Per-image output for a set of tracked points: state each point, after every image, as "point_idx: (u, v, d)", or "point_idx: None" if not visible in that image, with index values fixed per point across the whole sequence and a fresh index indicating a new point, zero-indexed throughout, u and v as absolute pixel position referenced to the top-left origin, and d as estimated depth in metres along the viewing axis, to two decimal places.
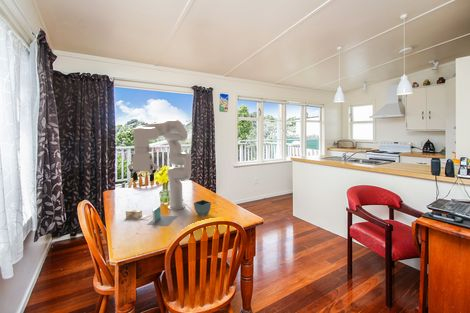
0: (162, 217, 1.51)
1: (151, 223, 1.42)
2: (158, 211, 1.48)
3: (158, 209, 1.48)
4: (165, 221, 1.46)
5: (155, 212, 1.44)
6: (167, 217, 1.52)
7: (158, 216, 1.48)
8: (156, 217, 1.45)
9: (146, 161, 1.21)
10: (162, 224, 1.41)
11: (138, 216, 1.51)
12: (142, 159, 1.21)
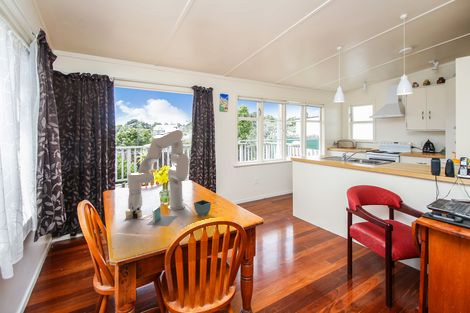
0: (162, 217, 1.51)
1: (151, 223, 1.42)
2: (158, 211, 1.48)
3: (158, 209, 1.48)
4: (165, 221, 1.46)
5: (155, 212, 1.44)
6: (167, 217, 1.52)
7: (158, 216, 1.48)
8: (156, 217, 1.45)
9: (141, 198, 1.54)
10: (162, 224, 1.41)
11: (138, 216, 1.51)
12: (140, 197, 1.52)
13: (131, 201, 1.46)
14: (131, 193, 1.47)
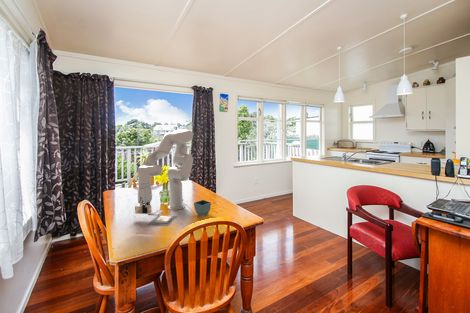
0: None
1: (151, 223, 1.42)
2: None
3: None
4: None
5: None
6: None
7: None
8: None
9: (151, 192, 1.50)
10: (162, 224, 1.41)
11: (148, 211, 1.46)
12: (149, 191, 1.47)
13: (141, 195, 1.42)
14: (141, 187, 1.42)
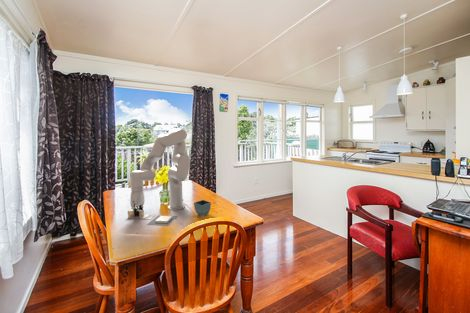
0: None
1: (151, 223, 1.42)
2: None
3: None
4: None
5: None
6: None
7: None
8: None
9: (143, 196, 1.55)
10: (162, 224, 1.41)
11: (140, 215, 1.52)
12: (142, 195, 1.53)
13: (133, 198, 1.47)
14: (133, 190, 1.48)
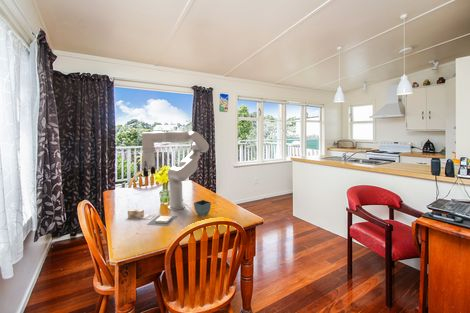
0: None
1: (151, 223, 1.42)
2: None
3: None
4: None
5: None
6: None
7: None
8: None
9: (154, 158, 1.57)
10: (162, 224, 1.41)
11: (140, 215, 1.52)
12: (153, 157, 1.55)
13: (145, 159, 1.49)
14: (145, 151, 1.50)
